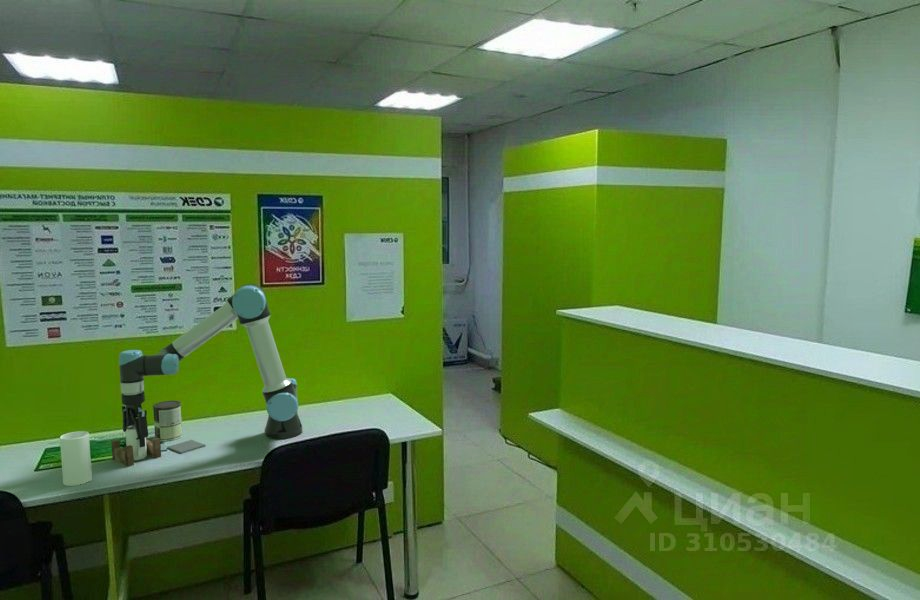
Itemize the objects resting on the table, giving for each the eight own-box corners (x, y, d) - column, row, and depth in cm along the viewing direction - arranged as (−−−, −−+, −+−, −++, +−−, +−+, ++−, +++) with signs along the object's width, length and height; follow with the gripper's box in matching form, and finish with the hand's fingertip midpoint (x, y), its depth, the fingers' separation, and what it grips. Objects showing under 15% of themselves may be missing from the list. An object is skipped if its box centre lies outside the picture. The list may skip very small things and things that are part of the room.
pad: (205, 446, 237) (205, 444, 236) (180, 453, 229) (180, 452, 228) (191, 441, 242) (191, 439, 242) (167, 448, 234) (167, 446, 234)
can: (151, 455, 226) (149, 424, 225) (137, 462, 220) (134, 430, 219) (137, 454, 228) (135, 423, 227) (123, 460, 222) (121, 428, 221)
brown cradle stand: (161, 456, 226) (160, 438, 225) (128, 466, 216) (126, 447, 215) (145, 450, 233) (144, 432, 232) (112, 459, 223) (111, 441, 222)
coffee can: (149, 440, 243) (146, 406, 242) (166, 432, 253) (164, 399, 252) (171, 442, 241) (169, 408, 239) (188, 434, 251) (186, 401, 250)
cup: (71, 476, 207) (68, 431, 206) (96, 475, 208) (93, 430, 206) (58, 486, 199) (54, 439, 198) (84, 485, 200) (80, 438, 198)
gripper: (156, 394, 219) (160, 455, 221) (130, 386, 230) (134, 444, 233) (135, 398, 213) (139, 461, 215) (109, 390, 224) (113, 450, 227)
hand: (136, 452), depth 224 cm, fingers closed on can, 6 cm apart
